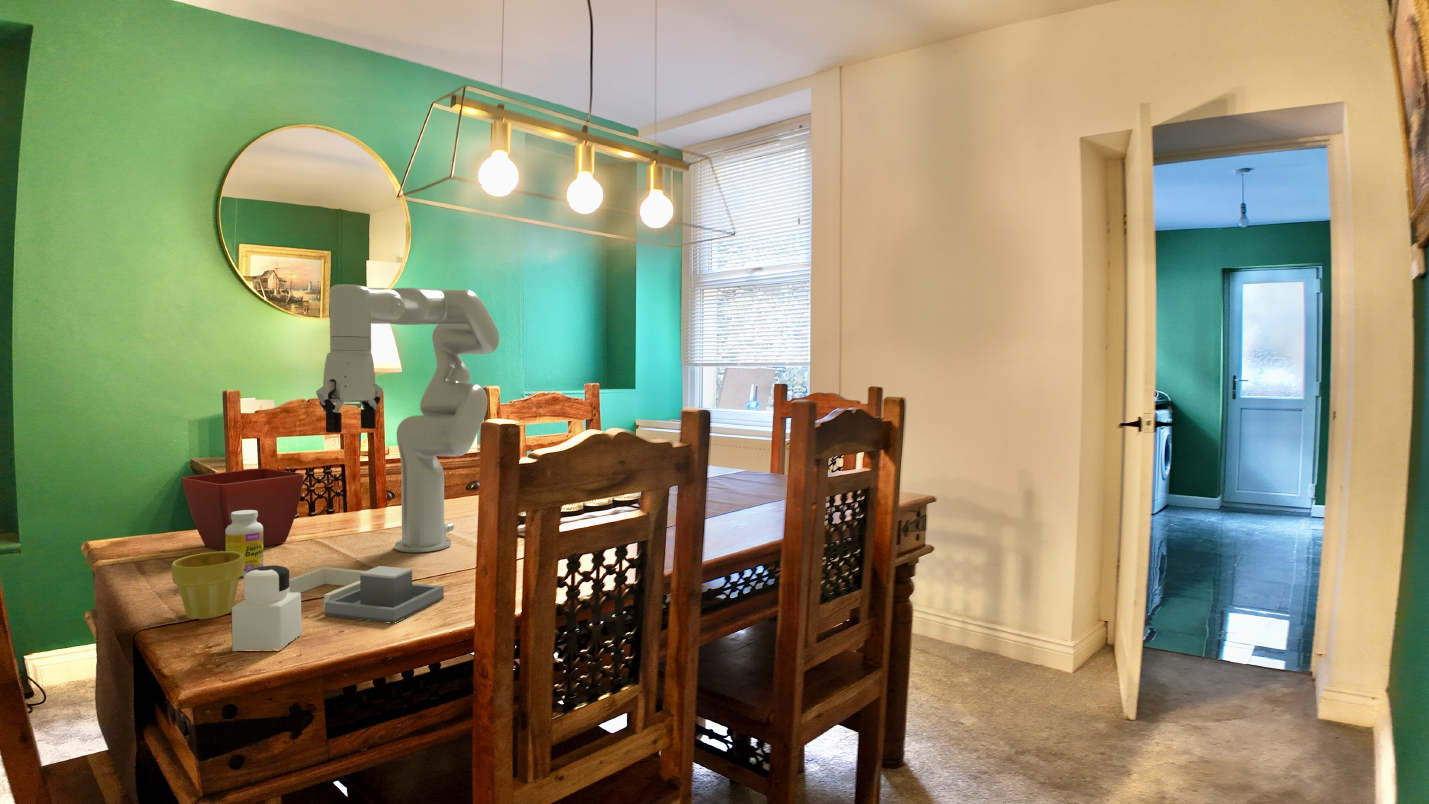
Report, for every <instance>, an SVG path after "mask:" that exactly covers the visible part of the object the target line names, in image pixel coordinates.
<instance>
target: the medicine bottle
mask: <svg viewBox="0 0 1429 804" xmlns="http://www.w3.org/2000/svg"><path fill="white" fill-rule="evenodd" d="M289 579H290V570H289V568H287V567H285V566H283V565H278V564H277V565H275V564H274V565H263V566H262V567H257V568H254V569H252V570H250V571H248V572H246V574H245V575H244V576H243V592H244V594H243V597H244V598H245V599H243V600H241V601H240V602H238V603H237V604H235V605H233V607H232V609H231V612H230V613H231V650H232V652H233V651H241V650H273V649H281V648H283V647H284V646H285V645H287V644H288V643H289V642H291V641H293V640H294V639H295V638H296V639H297V637H298V636H299V637H300V636H301V635H302V592H301V593H299V592H295V593H288V592H289ZM299 637H298V638H299ZM296 639H295V640H296ZM295 640H294V641H295ZM294 641H293V642H294ZM291 643H292V642H291ZM287 646H288V645H287Z"/></svg>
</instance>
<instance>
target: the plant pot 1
mask: <svg viewBox="0 0 1429 804" xmlns="http://www.w3.org/2000/svg"><path fill="white" fill-rule="evenodd" d="M304 477H305V474H304V473H300V472H293V471H286V470H281V469H279V470H278V469H274V468H267V467H266V468H263V467H261V468H254V469H243V470H241V469H240V470H234V471H233V470H232V471H225V472H218V473H217V472H214V473H205V474H200V475H199V474H198V475H190V476H183V477H181V481H182V482H181V483H182V487H183V491H184V495H185V499H186V501H187V506H188V509H189V511H190V516H191V518H192V520H193V523H194V525H195V527H196V530H197V532H198V535H199V536H200V538H201V540H202V543H203V546H204V547H207V548H209V549H210V548H211V549H214V550H218V551H226V537H225V531H226V528H227V527H228V526H229V525H231V524H232V519H231V513H232V512H235V511H241V510H256V511H258V517H257V519H256V521H257V522H258V523H260V524H262V526H263V548H264V547H269V546H274V545H280V544H283V543H286V542H287V539H288V537H289V535H290V532H291V529H292V526H293V525H294V524H293V523H294V521H295V518H296V516H297V512H298V508H299V504H300V500H301V495H302V491H303V486H304V480H305V479H304Z"/></svg>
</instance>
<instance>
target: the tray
mask: <svg viewBox="0 0 1429 804" xmlns="http://www.w3.org/2000/svg"><path fill="white" fill-rule="evenodd" d="M444 587H445V586H441V585H432V584H424V583H423V584H422V583H414V582H412V599H411V600H408V601H406V602H404V603H402V604H400V605H398V606H396V607H394V608H391V607H382V606H373V605H364V604H361V603H360V588H359V589H357V590H354V591H352V592H349V593H347V594H344V595H342V596H339V597H337V598H335V599H332V600H330V601H327V602H325V611H324V616H325V617H329V616H331V617H332V618H340V619H347V618H349V620H355V619H360V620H359V621H364V620H370V621H369V622H372V621H375V622H374V623H381V622H390V623H395V622H397V621H399V620H401V619H403V618H405V619H407V618H408V617H407V616H409V617H411V616H413V615H415V614H417V613H420V612H421V611H423V610H425V609H427V608H429V607H431V606H432V604H433V605H434V603H435V604H436V603H439V602H441V601H443V600H444V599H445V596H444V595H445V593H444V591H445V589H444ZM442 599H443V600H442ZM440 600H441V601H440ZM438 601H439V602H438ZM428 606H429V607H428ZM426 607H427V608H426ZM422 609H423V610H422ZM420 610H421V611H420ZM414 613H415V614H414ZM412 614H413V615H412ZM410 615H411V616H410ZM331 617H330V618H331ZM406 617H407V618H406ZM361 619H362V620H361ZM403 620H404V619H403ZM401 621H402V620H401ZM399 622H400V621H399ZM390 623H389V624H390ZM397 623H398V622H397ZM395 624H396V623H395Z"/></svg>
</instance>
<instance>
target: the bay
mask: <svg viewBox="0 0 1429 804" xmlns="http://www.w3.org/2000/svg"><path fill="white" fill-rule="evenodd" d="M365 571H366V570H360V569H359V570H357V569H350V568H340V567H338V568H337V567H329V566H328V567H327V566H323V567H319V568H317V569H314V570H311V571H308V572H305V573H303V574H300V575H299V574H298V575H297V576H294V577H292V578H290V577H289V592H288V593H295V592H299V593H301V594H302V593H304V592H306V591H309V590H312V589H315V588H317V587H321V586H322V585H332V586H333V585H334V586H341V587H339V588H336V589H335V590H332V591H329V592H328V593H324V594H323V611H324V612H325V602H327V601H330V600H332V599H335V598H337V597H339V596H342V595H344V594H347V593H349V592H352V591H354V590H357V589H359V588H360V573H362V572H365Z"/></svg>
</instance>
